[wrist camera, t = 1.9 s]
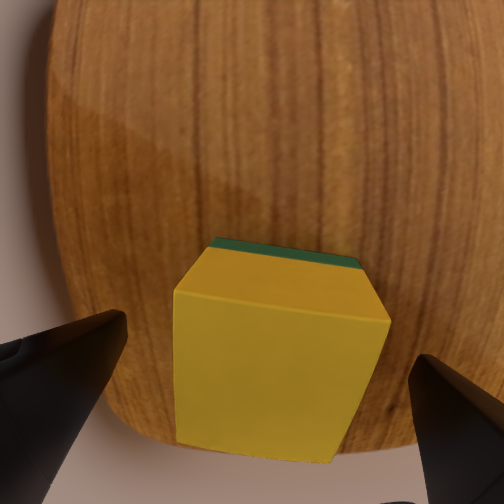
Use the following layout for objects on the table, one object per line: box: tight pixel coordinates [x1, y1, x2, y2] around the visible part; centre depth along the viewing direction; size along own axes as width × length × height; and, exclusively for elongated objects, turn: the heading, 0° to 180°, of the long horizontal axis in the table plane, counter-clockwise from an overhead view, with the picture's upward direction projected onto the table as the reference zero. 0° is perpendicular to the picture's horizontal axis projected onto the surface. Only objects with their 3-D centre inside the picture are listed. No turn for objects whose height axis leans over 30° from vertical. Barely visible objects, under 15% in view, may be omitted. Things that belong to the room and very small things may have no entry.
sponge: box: [173, 238, 391, 463], centre depth 9 cm, size 5×4×4 cm
